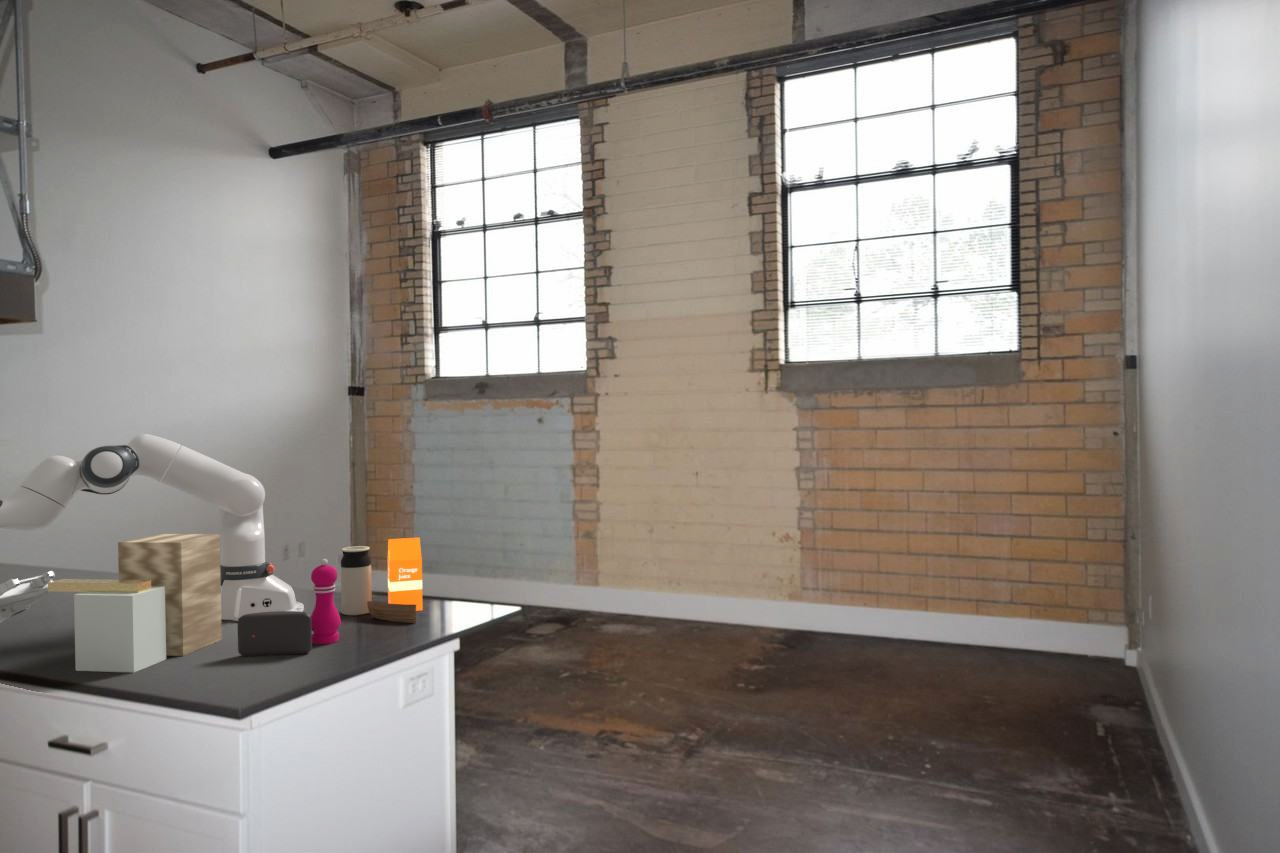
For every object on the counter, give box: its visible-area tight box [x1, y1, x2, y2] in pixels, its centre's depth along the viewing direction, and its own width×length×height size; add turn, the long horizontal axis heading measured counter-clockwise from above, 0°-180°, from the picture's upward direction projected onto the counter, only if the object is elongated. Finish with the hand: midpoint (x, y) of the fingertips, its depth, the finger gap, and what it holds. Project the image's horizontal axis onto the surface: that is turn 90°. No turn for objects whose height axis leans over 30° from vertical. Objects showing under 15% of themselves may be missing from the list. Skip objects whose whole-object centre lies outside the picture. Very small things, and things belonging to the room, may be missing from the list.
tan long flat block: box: [48, 578, 151, 593], centre depth 189 cm, size 22×4×2 cm, turn 82°
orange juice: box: [387, 537, 423, 612], centre depth 241 cm, size 8×9×20 cm
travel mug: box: [340, 545, 373, 616], centre depth 237 cm, size 8×8×18 cm
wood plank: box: [367, 600, 417, 624], centre depth 227 cm, size 15×2×5 cm, turn 68°
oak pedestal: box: [117, 533, 223, 657], centre depth 203 cm, size 16×14×26 cm
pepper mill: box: [310, 558, 342, 645], centre depth 207 cm, size 7×7×20 cm
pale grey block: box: [73, 586, 167, 673], centre depth 189 cm, size 14×10×16 cm
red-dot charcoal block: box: [236, 611, 313, 657], centre depth 197 cm, size 16×5×9 cm, turn 96°
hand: (34, 577), depth 192 cm, fingers open, 8 cm apart
